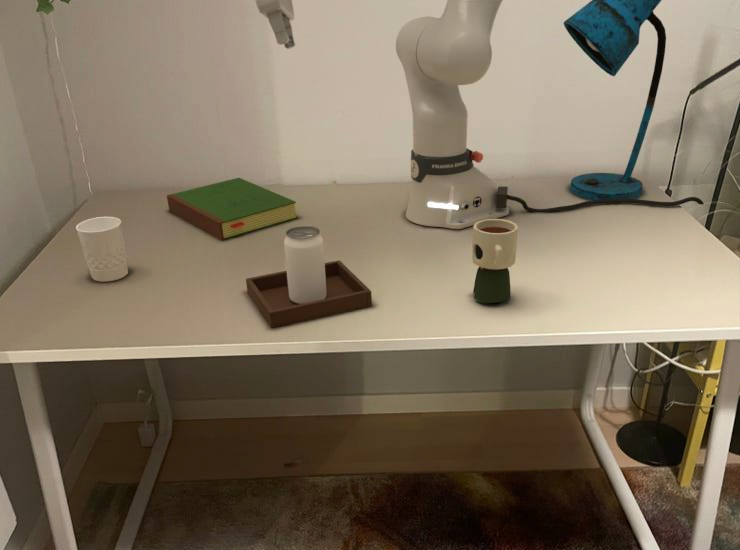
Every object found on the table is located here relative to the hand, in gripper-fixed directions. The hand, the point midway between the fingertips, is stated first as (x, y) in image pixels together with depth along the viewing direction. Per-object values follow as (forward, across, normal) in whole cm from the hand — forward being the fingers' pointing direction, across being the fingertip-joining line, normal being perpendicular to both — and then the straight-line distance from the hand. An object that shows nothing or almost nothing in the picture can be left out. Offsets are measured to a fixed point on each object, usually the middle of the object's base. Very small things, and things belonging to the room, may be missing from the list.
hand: (287, 45), depth 126 cm
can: (+40, -11, +8) cm, 43 cm away
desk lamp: (+46, +41, -55) cm, 83 cm away
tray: (+40, -11, +8) cm, 43 cm away
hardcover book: (+27, +31, +26) cm, 49 cm away
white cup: (+28, +1, +45) cm, 53 cm away
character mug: (+49, -13, -22) cm, 55 cm away
